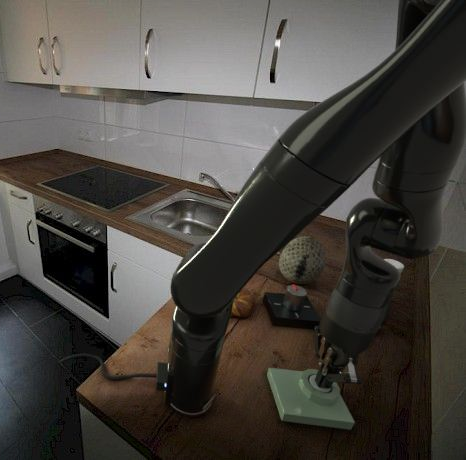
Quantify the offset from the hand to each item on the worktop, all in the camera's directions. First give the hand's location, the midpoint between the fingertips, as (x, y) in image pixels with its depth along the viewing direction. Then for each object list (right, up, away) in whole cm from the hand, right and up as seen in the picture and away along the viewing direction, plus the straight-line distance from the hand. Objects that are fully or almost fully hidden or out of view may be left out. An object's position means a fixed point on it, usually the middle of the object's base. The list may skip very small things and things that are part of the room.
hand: (321, 384), depth 60 cm
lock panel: (+6, +7, +23) cm, 25 cm away
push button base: (-2, -4, +2) cm, 5 cm away
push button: (0, -1, +1) cm, 2 cm away
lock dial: (+6, +10, +22) cm, 25 cm away
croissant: (-7, +9, +26) cm, 29 cm away
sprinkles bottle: (+32, +9, +27) cm, 43 cm away
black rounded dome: (+22, +6, +20) cm, 30 cm away
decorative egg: (+15, +14, +36) cm, 42 cm away
